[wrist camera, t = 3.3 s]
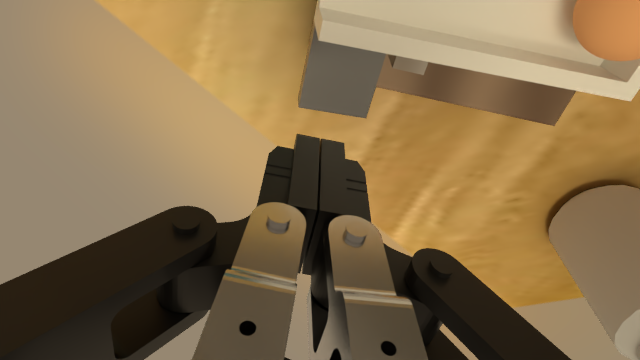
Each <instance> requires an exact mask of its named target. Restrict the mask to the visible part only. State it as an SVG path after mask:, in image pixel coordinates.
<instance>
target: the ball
mask: <svg viewBox="0 0 640 360" xmlns="http://www.w3.org/2000/svg"><path fill="white" fill-rule="evenodd" d="M573 29H574V32H575V35H576V37H577V39H578V41H579V43H580V44H581V45H582V46H583V47H584V48H585V49H586V50H587V51H588V52H590V53H591V54H593V55H595V56H597V57H599V58H602V59H606V60H610V61H631V60H636V59H640V0H577V1H576V4H575V7H574V11H573Z"/></svg>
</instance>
